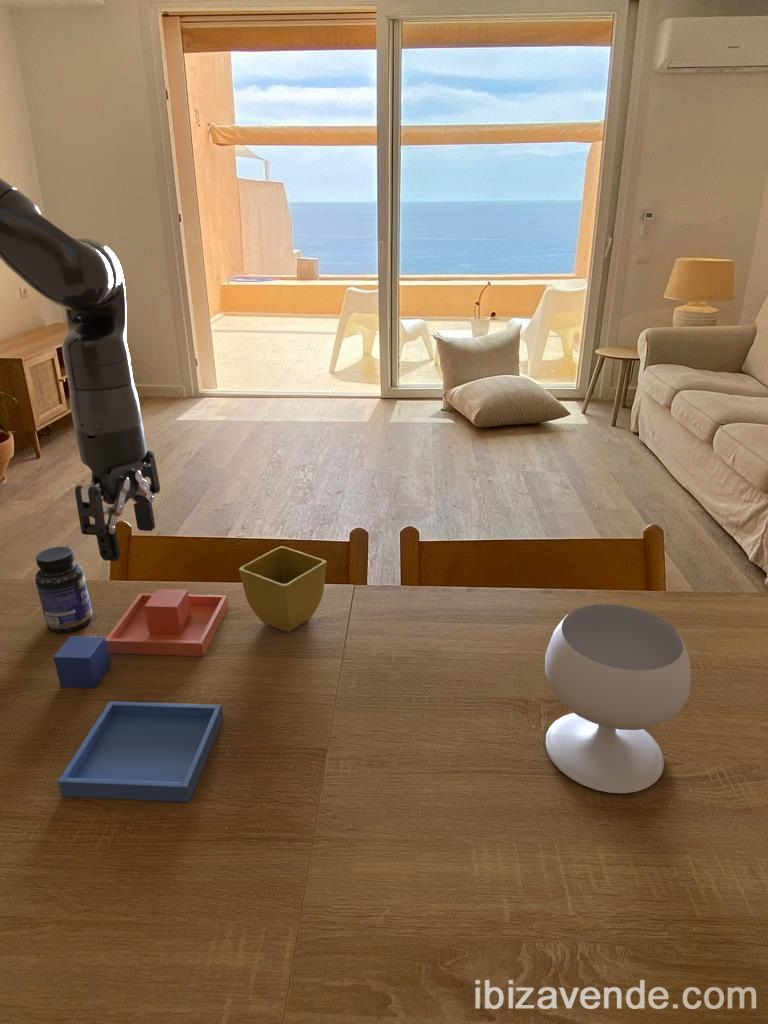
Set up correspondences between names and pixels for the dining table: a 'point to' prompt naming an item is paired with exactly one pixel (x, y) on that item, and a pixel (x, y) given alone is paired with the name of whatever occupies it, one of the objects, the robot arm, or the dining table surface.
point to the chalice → (614, 694)
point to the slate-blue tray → (143, 752)
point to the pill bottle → (62, 590)
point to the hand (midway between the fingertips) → (129, 543)
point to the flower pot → (284, 586)
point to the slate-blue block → (82, 662)
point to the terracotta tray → (192, 642)
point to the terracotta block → (168, 612)
